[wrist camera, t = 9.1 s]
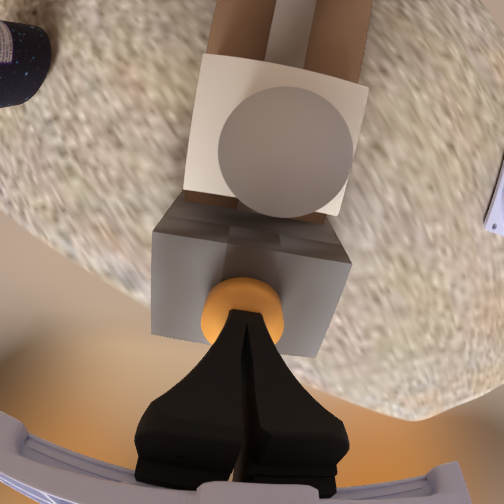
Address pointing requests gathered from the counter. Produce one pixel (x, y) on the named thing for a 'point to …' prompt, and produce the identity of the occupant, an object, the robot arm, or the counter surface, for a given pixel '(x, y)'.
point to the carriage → (273, 135)
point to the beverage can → (22, 62)
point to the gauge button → (241, 306)
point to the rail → (246, 219)
